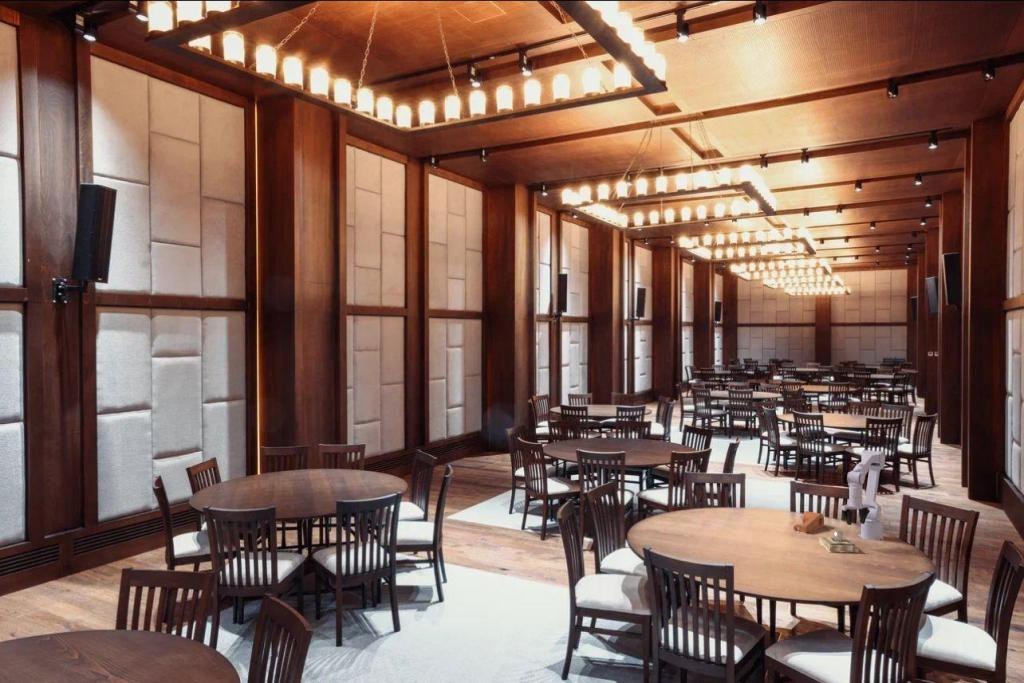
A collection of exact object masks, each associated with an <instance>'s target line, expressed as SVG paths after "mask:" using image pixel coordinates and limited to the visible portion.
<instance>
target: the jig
mask: <svg viewBox="0 0 1024 683" xmlns="http://www.w3.org/2000/svg"><path fill="white" fill-rule="evenodd" d="M818 541H819V542H818V544H819V543H820V544H819V545H821V546H822V547H823V546H824V547H825V548H826V551H828V552H829V553H842V552H854V553H853V554H859V546H858V544H856V543H854V542H853V541H852V540H850V539H849V538H848V537H843V542H834V537H829V536H828V537H823V536H822V537H820V536H819V537H818ZM824 547H823V548H824ZM825 548H824V549H825Z"/></svg>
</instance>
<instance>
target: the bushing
mask: <svg viewBox="0 0 1024 683" xmlns="http://www.w3.org/2000/svg"><path fill="white" fill-rule="evenodd" d="M833 538H834V542H843V538H844V532H843V531H841V530H834V531H833Z"/></svg>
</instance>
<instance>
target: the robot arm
mask: <svg viewBox="0 0 1024 683" xmlns="http://www.w3.org/2000/svg"><path fill="white" fill-rule="evenodd" d="M860 458H861V459H860V460H861V461H860V462H858V463H857V464H856V465H855V467H854V468H853V469H852V470H850V471H849V472H847V476H846V477H847V478H846V481H847V486H848V487H849V488H848V490H849V492H848V495H849V496H848V497H849V498H848V499H849V500H848V502H849V503H848V504H844V505H841V511H842V513H843V515H844V518H845V521H846V525H849V526H852V524H853V523H852V522H853V521H852V519H853V515H854V511H851V510H856V516H857V517H858V518H859V523H860V534H859V533H858V534H857V535H858V536H859V537H860V538H862V539H863V540H869V539H878V541H884V526H883V522H882V521H881V517H882V507H881V505H880V504H879V503H877V495H878V494H877V493H878V486H879V481H880V480H879V478H880V473H881V470H883V469H884V467H885V462H886V455H885V453H884V451H875V450H867V449H863V450H862V451H861V454H860ZM867 473H868V475H867ZM866 475H867V476H868V477H867V484H866V491H865V497H864V498H865V499H864V500H863V485H864V483H865V479H866ZM880 539H882V540H880Z"/></svg>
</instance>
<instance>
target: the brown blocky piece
mask: <svg viewBox="0 0 1024 683" xmlns="http://www.w3.org/2000/svg"><path fill="white" fill-rule="evenodd" d="M824 524H825V516H824V515H823V514H822V513H819V512H813V511H809V510H806V511H804V512H803V514H802V524H798V523H797V524H795V525H793V531H794V530H795V531H794V532H796V531H799V532H798V533H800V532H804V533H807V532H809V533H811V532H810V531H812V532H814V531H816V530H815V529H817V530H819V529H818V528H820V529H822V528H823V527H824ZM821 527H822V528H821ZM813 530H814V531H813ZM804 533H803V534H804ZM807 534H808V533H807Z"/></svg>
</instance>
